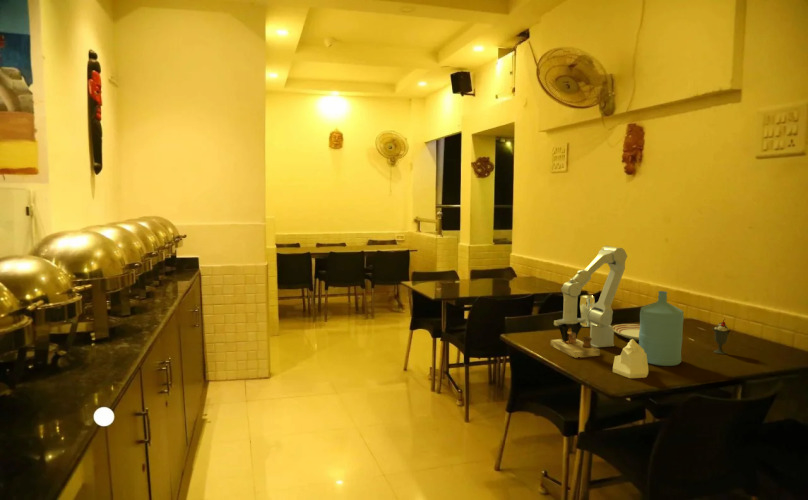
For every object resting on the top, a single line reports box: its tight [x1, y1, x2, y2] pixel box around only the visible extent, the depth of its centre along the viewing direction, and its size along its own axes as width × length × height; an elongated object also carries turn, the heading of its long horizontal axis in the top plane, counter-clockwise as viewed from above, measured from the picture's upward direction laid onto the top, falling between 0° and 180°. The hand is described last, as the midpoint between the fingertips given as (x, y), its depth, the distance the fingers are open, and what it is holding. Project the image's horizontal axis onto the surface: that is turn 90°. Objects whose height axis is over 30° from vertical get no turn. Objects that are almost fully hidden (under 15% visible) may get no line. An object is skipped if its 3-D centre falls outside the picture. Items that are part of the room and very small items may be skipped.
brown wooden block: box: [564, 331, 577, 344], centre depth 224 cm, size 4×4×7 cm
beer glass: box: [579, 294, 596, 328], centre depth 261 cm, size 7×7×15 cm
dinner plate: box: [612, 323, 640, 342], centre depth 242 cm, size 28×27×3 cm
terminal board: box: [550, 336, 601, 359], centre depth 221 cm, size 12×18×6 cm, turn 16°
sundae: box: [712, 318, 732, 355], centre depth 217 cm, size 7×7×15 cm
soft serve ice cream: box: [612, 339, 649, 379], centre depth 192 cm, size 12×15×14 cm
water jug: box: [638, 290, 685, 367], centre depth 207 cm, size 16×16×28 cm
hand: (569, 340), depth 225 cm, fingers open, 4 cm apart
